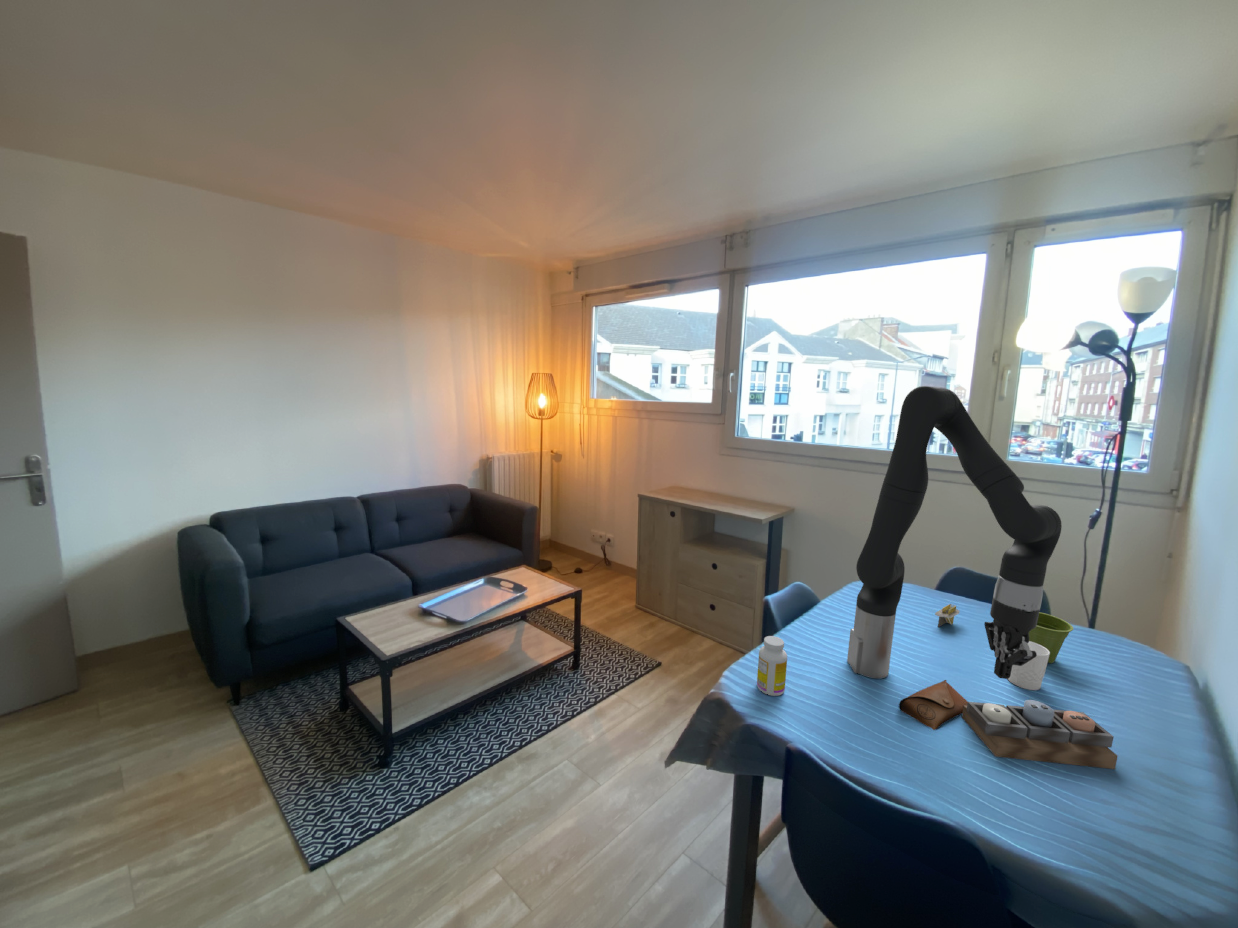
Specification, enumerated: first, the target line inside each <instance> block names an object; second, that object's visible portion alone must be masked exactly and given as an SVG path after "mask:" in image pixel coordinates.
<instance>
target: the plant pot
mask: <svg viewBox="0 0 1238 928" xmlns="http://www.w3.org/2000/svg"><path fill="white" fill-rule="evenodd" d="M1073 630H1074V626H1073V625H1072V624H1071V623H1069V622H1068V621H1066V620H1064V619H1062V618H1060V617H1057V616H1054V615H1052V614H1049V613H1044V612H1039V616H1038V621H1037V626H1036V628H1034V629H1032V630H1031V631H1029V641H1031V642H1034V643H1037V644H1039V645H1041V646H1043V647H1045V648H1046V649H1048V650H1049V652H1050V655H1049V659H1048V663H1049V664H1053V663H1054V662H1055V661H1056V659H1057V657H1058V656H1059V652H1060V651H1061V648H1062V646H1063V645H1064V642H1065V640H1066V638H1068V636H1069V635H1070V632H1072V631H1073ZM1048 663H1047V664H1048Z"/></svg>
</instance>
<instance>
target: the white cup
mask: <svg viewBox="0 0 1238 928" xmlns="http://www.w3.org/2000/svg"><path fill="white" fill-rule="evenodd" d="M1027 644H1028V646H1029V648H1030V650H1031V651H1035V652H1036V654H1037V656H1036V657H1035V658H1033V659H1032V660H1030V661H1029V662H1027V663H1025V664H1024V665H1022V666H1018V665H1013V666H1012V670H1011V675H1010V677H1009V678H1008V679H1007V680H1008V681H1009V682H1010V683H1011V684H1013V685H1015V686H1016V687H1019V688H1021V689H1024V690H1029V691H1038V690H1041V688H1042V683H1043V680H1044V677H1045V674H1046V671H1047V666H1048V659H1049V655H1050V652H1049V650H1048V649H1046V648H1045V647H1043V646H1041V645H1039V644H1037V643H1034V642H1031V641H1029V643H1027Z"/></svg>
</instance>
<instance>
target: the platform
mask: <svg viewBox="0 0 1238 928" xmlns="http://www.w3.org/2000/svg"><path fill="white" fill-rule="evenodd" d="M960 612H961V611H960V610H959V609H957V605H954V604H952V603H949V604H948V605H947V604H946V606H944V607H942V608H941V609H940V610H937V611H936V612H935V613H934V615H935V616H937V617H938V623H937V628H940V627H942V626H944V625H945V624H950V625H953V624H954V619H955V617H956V616H957V615H959V614H960Z"/></svg>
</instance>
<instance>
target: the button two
mask: <svg viewBox="0 0 1238 928" xmlns="http://www.w3.org/2000/svg"><path fill="white" fill-rule="evenodd" d="M1023 707H1024V708H1023V713H1022V716H1023V718H1024V719H1025V720H1027V721H1028V722H1030V723H1032V724H1034V725H1036V726H1039V727H1045V728H1050V727H1052V723H1053V717H1054V710H1055V709H1053V708H1052V707H1051V706H1049V705H1047V704H1046V703H1043V702H1041V701H1038V700H1033V699H1025V701H1024V702H1023Z"/></svg>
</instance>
